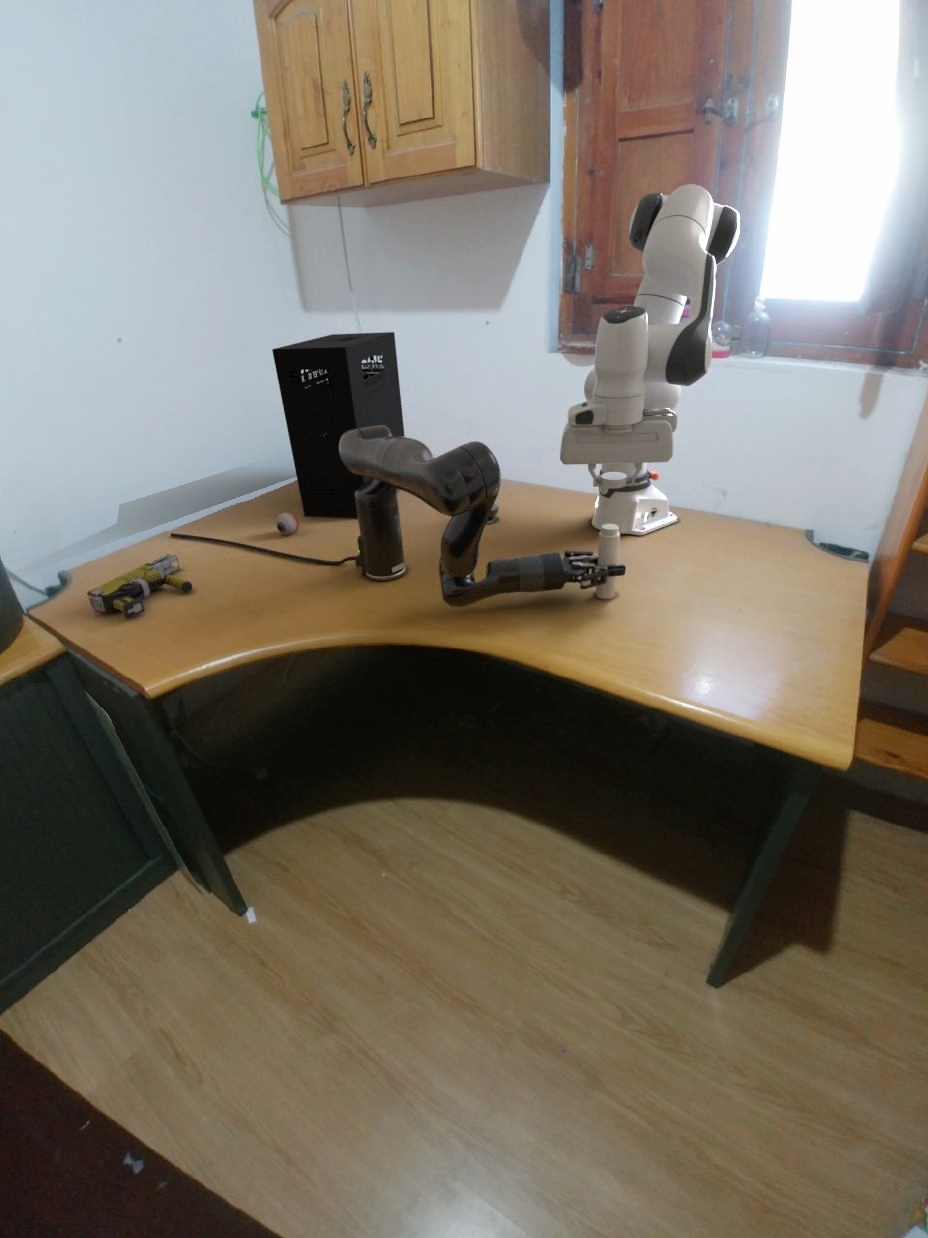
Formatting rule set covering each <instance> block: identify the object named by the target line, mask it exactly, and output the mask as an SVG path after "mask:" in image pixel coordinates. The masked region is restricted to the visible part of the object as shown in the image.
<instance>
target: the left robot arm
mask: <svg viewBox="0 0 928 1238" xmlns="http://www.w3.org/2000/svg"><path fill="white" fill-rule="evenodd" d="M339 454H340V457H341V460H342V462H343V464H344V465H345V467H346V468H347V469H348V470H349V471H350V472H351V473H353V474H356V475H364V476H369V477H372V478H371V479H370V480H369V481H368V482H366V483H365V484H363V485H362V486H360V487H359V488H358V489H357V490H356V491H355V502H356V509H357V516H358V518H357V521H358V528H359V536H357V538H356V540H357V546H358V554H357V555H355V556H347V557H345V558H342V559H341V560H325V559H319V558H313V557H312V558H311V557H306V556H300V555H296V554H292V553H291V554H290V553H286V552H282V551H277V550H273V549H269V548H264V547H260V546H256V545H255V546H254V545H251V544H246V543H241V542H236V541H231V540H225V539H219V538H212V537H206V536H200V535H192V534H191V535H190V534H183V533H174V532H173V533H170V537H174V538H182V539H183V538H184V539H192V540H198V541H199V540H201V541H207V542H213V543H214V542H215V543H219V544H224V545H225V544H226V545H230V546H234V547H235V546H236V547H241V548H245V549H250V550H254V551H258V552H263V553H267V554H272V555H275V556H279V557H285V558H290V559H294V560H299V561H304V562H308V563H314V564H315V563H316V564H322V565H329V566H330V565H331V566H338V565H343V564H344V563H347V562H350V561H354V564H355V567H356V568H361V574H362V576H363V577H367V578H368V579H370V580H372V581H380V582H383V581H392V580H395V579H398V578H400V577H402V576H404V575H405V573H406V572H407V567H406V561H405V552H404V543H403V536H402V535H403V534H402V525H401V516H400V508H399V507H400V506H399V499H398V490H400V491H403V492H405V493H408V494H410V495H412V496H414V497H415V498H417V499H419V500H420V501H422V502H423V503H425V504H426V505H428V506H429V507H430V508H432V509H433V510H434V511H436V512H438V513H439V514H441V515H444V516H447V517H451V518H450V519H449V521H448V523H447V524H446V526H445V528H444V530H443V533H442V535H441V539H440V557H439V560H438V576H439V585H440V592H441V598H442V601H443V602H444V604H446V605H448V606H450V607H452V608H464V607H468V606H470V605H473V604H475V603H478V602H480V601H483V600H486V599H489V598H492V597H495V596H498V595H504V594H515V593H516V594H517V593H537V592H547V591H548V592H549V591H558V590H562V589H563V588H564V586H565V585H566V583H573V584H576V583H577V584H579V588H580V590H587V589H590V588H594V587H595V588H596V586H598V585H602V584H605V583H607V577H612V576H617V577H621V576H625V574H626V568H627V566H626V565H625V564H623V563H621V564H620V563H618V565H609V566H597V563H598V554H594V551H585V550H565V551H564V555H562V554H561V553H560V552H547V553H546V552H545V553H537V554H526V555H521V556H517V557H509V558H507V557H506V558H498V559H491V560H489V561H488V562H487V564H486V567H485V577H484V578H482V579H481V580H479V581H477V582H476V578H475V569H476V568H477V565H478V560H479V552H480V546H481V545H480V544H481V539H482V536H483V533H484V530H485V527H486V524H487V523H486V522H487V520H488V517H489V515H490V512H491V510H492V507H493V505H494V503H495V502H496V500H497V498H498V495H499V493H500V490H501V484H502V472H501V467H500V464H499V462H498V459H497V457H496V456H495V454H494V452H493V451H492V450H491V448H490V447H488V446H487V444H485V443H483V442H481V441H476V440H475V441H469V442H467V443H464V444H461V445H459V446H457V447H455V448H453V449H451V450H449V451H447V452H445V453H443V454H440V455H438V456H436V457H434V455H433V452H432V451H431V450H430V448H429V447H428V446H427V444H426V443H424V442H422V441H420V440H419V439H416V438H413V437H407V436H405V437H404V436H392V434H391V432H390V430H389V429H388V427H386V426H385V425H374V426H367V427H361V428H355V429H350V430H348V431H346V432H344V433H343V435H342V436H341V438H340V441H339ZM397 489H398V490H397ZM495 504H496V503H495ZM597 570H601V571H598V572H597ZM598 579H600V580H598Z"/></svg>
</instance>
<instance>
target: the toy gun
mask: <svg viewBox="0 0 928 1238" xmlns="http://www.w3.org/2000/svg"><path fill="white" fill-rule="evenodd" d="M175 562H176V563H177V566H176V565H173V563H175ZM180 569H181V566H180V561H179V557H178V556H177V555H176V554H172V555H171V553H167V554H166V555H164V556H161V557H159V558H157V559H155V560H153V561H151V562H148V563H147V562H146V563H145V564H142V565H140V566H138V567H136V568H134V569H132V570H130V571H127V572H126V573H123V574H122V575H119V576H117V577H115V578H113V579H111V580H108V581H107V582H104V583H103V584H100V585H98V586H96V587H94V588H92V589H90V590H88V591H87V592H86V593H87V597H88V601H89V605H90V608H91V609H92V610H94V612H95V613H99V614H101V613H112V612H116V611H121V612H123V613H124V616H125V617H124V618H125V619H127V620H129V619H131V618H134V617H135V616H138V615H140V614H143V613H145V607H144V602H143V599H145V598H147V597H149V596H150V595H151V591H154V590H156V589H159V588H162V587H163V586H164V585H165V584H166V585H167V586H170V587H172V588H174V589H177V590H179V591H182V592H183V593H186V594H187V593H189V592H191V591H192V590H193V584H192V582H190V581H188V580H184V579H181V578H179V577H178V576H174V575H173V573H174V572H176V571H177V570H180Z"/></svg>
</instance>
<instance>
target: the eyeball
mask: <svg viewBox="0 0 928 1238" xmlns="http://www.w3.org/2000/svg"><path fill="white" fill-rule="evenodd" d="M299 525H300V522H299V519H298V517H297V516H296V515H295V514H294V513H292V512H287V511H286V512H282V513H280V514H279V515H278V516H277V517H276V520H275V527H276V529H277V530H278V531H279V532H280V533H281V534H282V535H285V536H286V535H287V536H289V535H293V534H295V533H296V532H297V531H298V529H299Z"/></svg>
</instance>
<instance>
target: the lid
mask: <svg viewBox="0 0 928 1238" xmlns="http://www.w3.org/2000/svg"><path fill="white" fill-rule="evenodd" d="M626 485H627V475H626V474H624V473H621V472H608V473H604V474H602V475H601V486H603V487H605V488H622V487H625V486H626Z"/></svg>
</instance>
